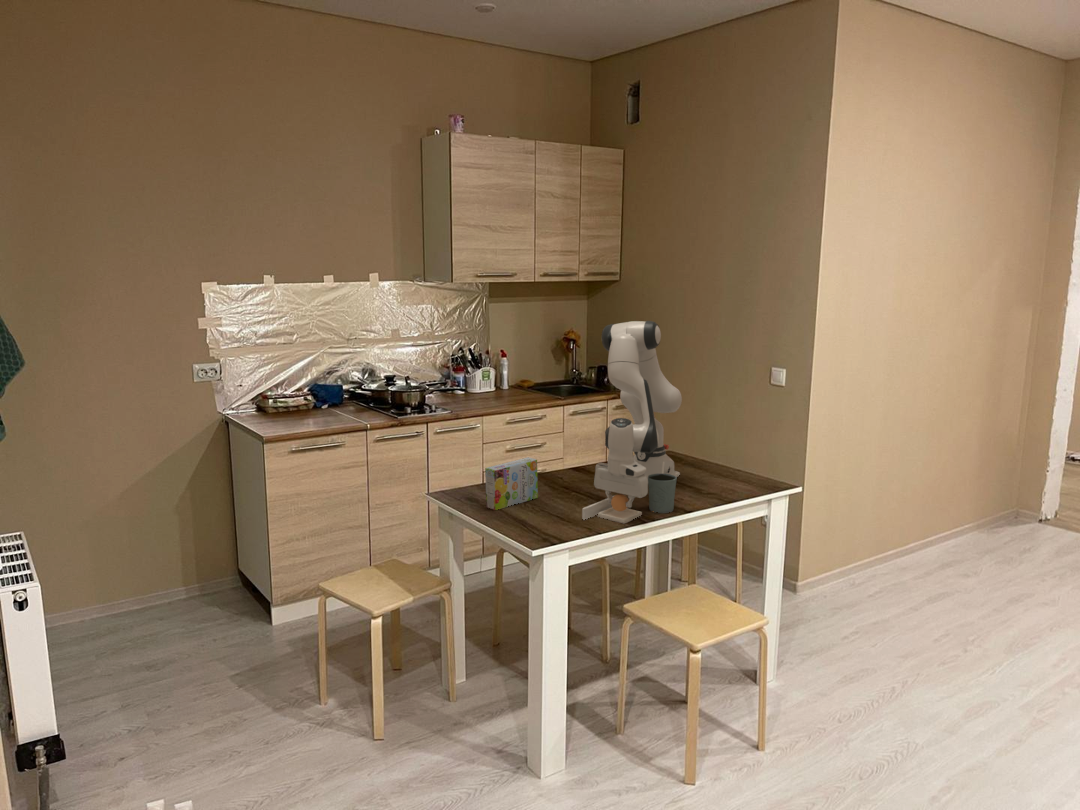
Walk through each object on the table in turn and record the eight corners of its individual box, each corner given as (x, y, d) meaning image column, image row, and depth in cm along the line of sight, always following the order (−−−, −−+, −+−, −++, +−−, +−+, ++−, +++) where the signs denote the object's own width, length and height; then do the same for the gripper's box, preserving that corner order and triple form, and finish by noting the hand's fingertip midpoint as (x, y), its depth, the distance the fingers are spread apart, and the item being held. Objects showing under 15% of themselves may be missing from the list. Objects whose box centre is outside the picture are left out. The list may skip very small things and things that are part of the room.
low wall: (618, 504, 293) (618, 493, 292) (620, 504, 292) (620, 494, 292) (582, 519, 276) (582, 508, 276) (584, 520, 276) (584, 509, 275)
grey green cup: (650, 514, 282) (651, 481, 280) (644, 505, 292) (645, 473, 290) (678, 513, 283) (679, 480, 281) (671, 504, 293) (672, 472, 291)
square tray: (615, 509, 287) (615, 505, 287) (641, 515, 280) (641, 511, 280) (597, 517, 279) (597, 513, 279) (624, 523, 272) (624, 519, 272)
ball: (607, 511, 279) (607, 494, 278) (617, 507, 284) (617, 490, 282) (622, 514, 275) (622, 497, 274) (631, 510, 280) (632, 493, 279)
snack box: (528, 495, 304) (527, 456, 302) (538, 498, 300) (538, 459, 298) (485, 507, 290) (484, 467, 287) (495, 511, 286) (495, 470, 283)
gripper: (590, 463, 281) (590, 501, 283) (640, 473, 268) (639, 513, 270) (601, 459, 285) (600, 497, 288) (650, 469, 273) (649, 508, 275)
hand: (619, 505), depth 279 cm, fingers closed on ball, 6 cm apart
